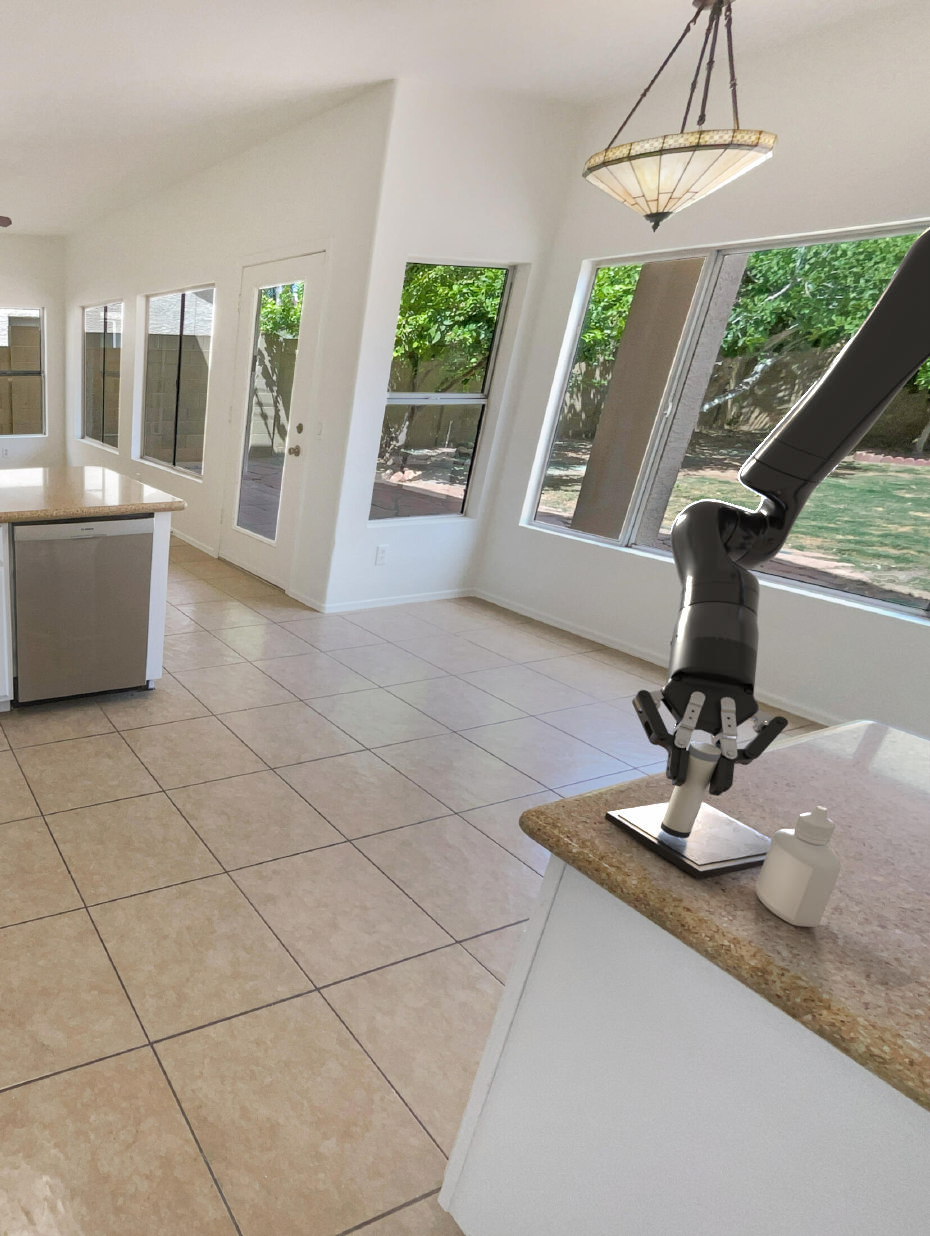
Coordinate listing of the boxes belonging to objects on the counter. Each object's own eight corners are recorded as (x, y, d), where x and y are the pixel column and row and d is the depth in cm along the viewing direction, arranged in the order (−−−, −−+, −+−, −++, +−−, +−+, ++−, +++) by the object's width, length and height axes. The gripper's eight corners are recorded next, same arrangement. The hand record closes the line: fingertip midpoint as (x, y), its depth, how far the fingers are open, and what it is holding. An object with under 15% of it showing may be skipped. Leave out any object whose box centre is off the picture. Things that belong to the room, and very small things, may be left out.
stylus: (672, 823, 81) (702, 740, 77) (695, 836, 79) (728, 752, 75) (654, 825, 80) (684, 742, 77) (677, 839, 78) (709, 754, 74)
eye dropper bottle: (757, 916, 69) (793, 814, 65) (752, 884, 73) (786, 787, 69) (819, 935, 67) (861, 830, 62) (810, 901, 71) (849, 801, 67)
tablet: (693, 804, 87) (696, 797, 87) (795, 861, 77) (798, 852, 77) (604, 818, 84) (606, 811, 84) (697, 879, 74) (700, 870, 74)
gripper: (647, 623, 81) (627, 759, 76) (809, 648, 74) (800, 799, 69) (630, 651, 87) (610, 779, 82) (778, 676, 81) (767, 818, 75)
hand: (697, 787), depth 75 cm, fingers closed on stylus, 2 cm apart
